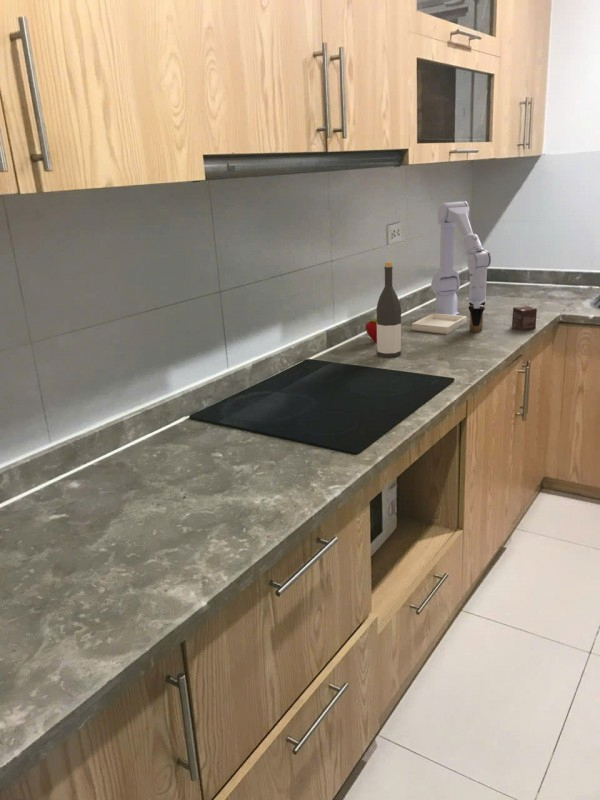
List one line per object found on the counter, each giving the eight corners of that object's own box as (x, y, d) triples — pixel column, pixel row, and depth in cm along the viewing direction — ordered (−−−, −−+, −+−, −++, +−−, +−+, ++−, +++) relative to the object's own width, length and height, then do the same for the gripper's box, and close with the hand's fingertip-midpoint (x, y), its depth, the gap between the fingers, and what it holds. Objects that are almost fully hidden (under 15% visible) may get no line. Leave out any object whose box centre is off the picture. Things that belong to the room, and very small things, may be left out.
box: (525, 325, 236) (527, 305, 234) (536, 328, 231) (537, 308, 228) (511, 327, 234) (512, 307, 232) (521, 330, 229) (522, 310, 226)
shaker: (472, 328, 236) (473, 304, 233) (484, 329, 233) (485, 305, 230) (467, 331, 232) (468, 306, 229) (479, 332, 230) (480, 307, 227)
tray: (432, 319, 251) (432, 313, 250) (466, 322, 244) (467, 316, 243) (411, 330, 238) (411, 323, 237) (447, 334, 230) (447, 327, 229)
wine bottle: (372, 353, 213) (370, 261, 202) (393, 349, 215) (393, 259, 205) (383, 359, 206) (383, 265, 195) (406, 355, 208) (406, 262, 198)
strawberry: (371, 339, 229) (370, 311, 226) (389, 341, 225) (389, 313, 221) (362, 343, 225) (361, 315, 222) (380, 345, 221) (380, 317, 217)
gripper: (466, 282, 235) (465, 318, 240) (465, 290, 222) (463, 328, 227) (486, 282, 233) (485, 319, 238) (486, 290, 220) (484, 329, 225)
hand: (476, 323), depth 232 cm, fingers open, 5 cm apart
